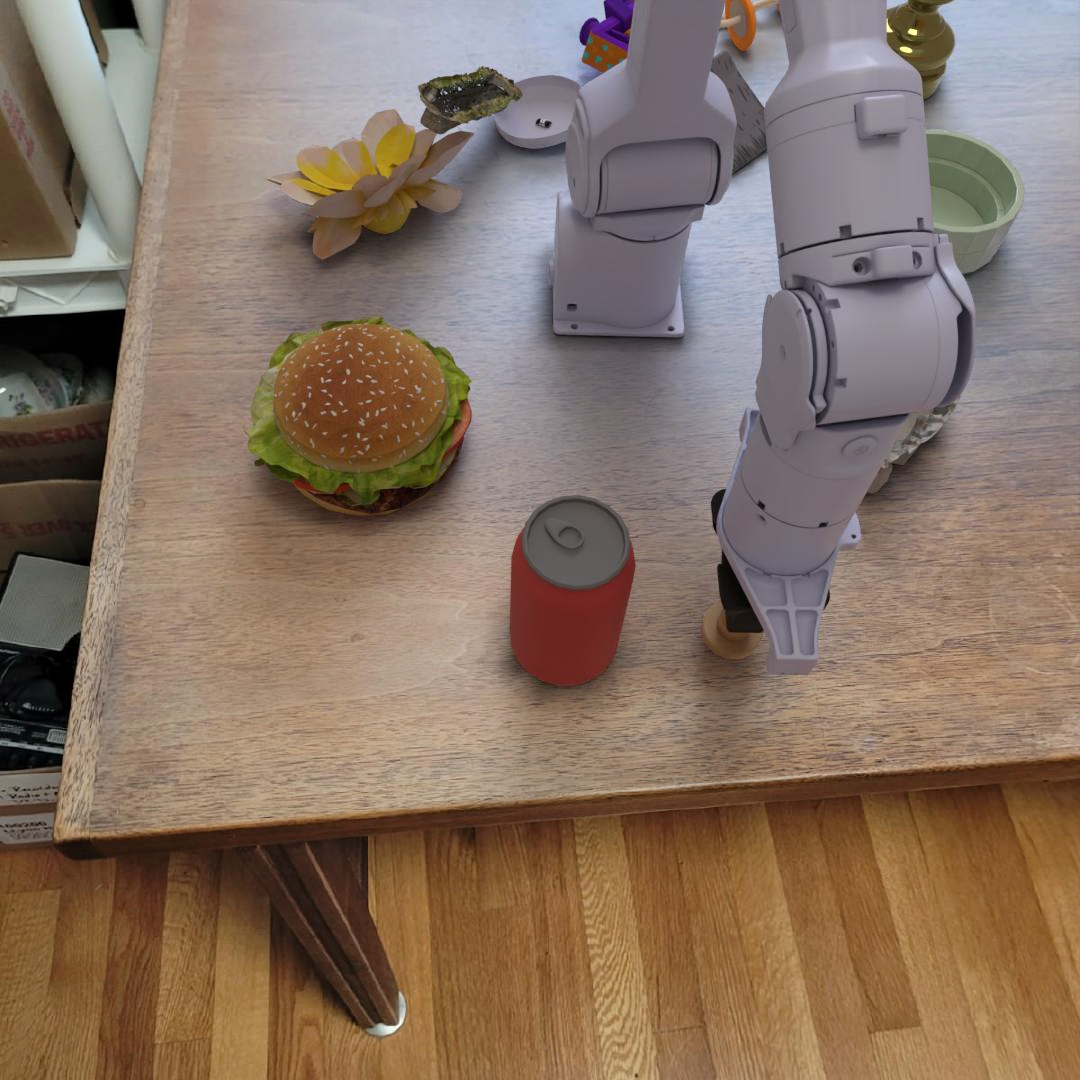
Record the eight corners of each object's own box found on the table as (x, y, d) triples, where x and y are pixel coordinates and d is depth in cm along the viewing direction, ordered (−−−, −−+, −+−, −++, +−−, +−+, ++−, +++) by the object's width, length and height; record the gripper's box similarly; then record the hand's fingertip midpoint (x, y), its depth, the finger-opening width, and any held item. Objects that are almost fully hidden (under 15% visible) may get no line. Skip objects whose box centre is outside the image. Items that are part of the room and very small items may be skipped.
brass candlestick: (838, 60, 93) (873, -52, 84) (913, 47, 94) (955, -64, 85) (876, 112, 89) (916, 2, 81) (952, 98, 91) (1000, -12, 82)
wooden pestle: (703, 659, 62) (742, 566, 52) (698, 604, 63) (735, 505, 54) (763, 660, 62) (814, 568, 52) (757, 605, 64) (805, 506, 54)
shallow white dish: (526, 85, 90) (523, 65, 88) (607, 108, 87) (606, 88, 85) (476, 143, 87) (473, 123, 85) (559, 168, 84) (557, 149, 82)
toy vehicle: (722, 182, 84) (741, 5, 71) (546, 71, 93) (535, -104, 80) (793, 130, 87) (824, -49, 74) (616, 27, 96) (616, -149, 83)
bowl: (866, 279, 79) (887, 230, 75) (844, 178, 85) (863, 126, 81) (1011, 283, 80) (1040, 234, 75) (980, 182, 85) (1005, 131, 81)
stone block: (550, 100, 84) (500, 108, 86) (538, 43, 82) (487, 53, 84) (454, 146, 74) (401, 154, 77) (437, 83, 72) (384, 93, 75)
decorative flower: (430, 108, 84) (429, 15, 75) (496, 219, 82) (502, 137, 72) (258, 176, 81) (233, 88, 72) (321, 293, 79) (304, 217, 69)
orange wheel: (683, 20, 87) (856, -15, 87) (658, -50, 89) (827, -83, 90) (675, 86, 93) (836, 53, 94) (652, 20, 96) (809, -11, 97)
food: (331, 336, 75) (314, 253, 68) (503, 412, 72) (504, 334, 65) (215, 476, 68) (183, 400, 61) (399, 566, 65) (387, 497, 59)
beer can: (555, 571, 66) (566, 464, 55) (639, 633, 64) (666, 533, 53) (487, 644, 63) (484, 545, 53) (572, 711, 61) (587, 622, 51)
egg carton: (859, 511, 69) (879, 477, 65) (774, 441, 71) (788, 404, 68) (956, 425, 73) (979, 388, 69) (871, 361, 75) (889, 323, 72)
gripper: (917, 619, 44) (829, 729, 56) (864, 354, 52) (796, 501, 63) (752, 616, 44) (698, 727, 56) (722, 351, 51) (680, 498, 63)
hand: (742, 607), depth 60 cm, fingers closed on wooden pestle, 2 cm apart
